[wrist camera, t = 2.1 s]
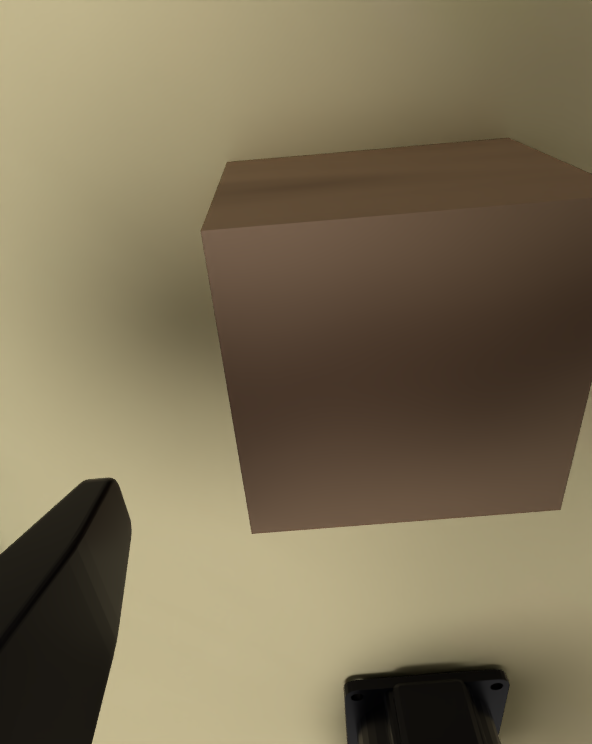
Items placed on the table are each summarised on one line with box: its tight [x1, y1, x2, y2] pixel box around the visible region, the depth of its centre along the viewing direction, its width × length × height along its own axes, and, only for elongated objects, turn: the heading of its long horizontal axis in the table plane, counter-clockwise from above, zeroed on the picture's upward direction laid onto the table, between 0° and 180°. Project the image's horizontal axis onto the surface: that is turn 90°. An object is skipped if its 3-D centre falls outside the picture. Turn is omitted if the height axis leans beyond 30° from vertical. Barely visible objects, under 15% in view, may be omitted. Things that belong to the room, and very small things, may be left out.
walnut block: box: [201, 138, 592, 534], centre depth 11 cm, size 6×6×5 cm
